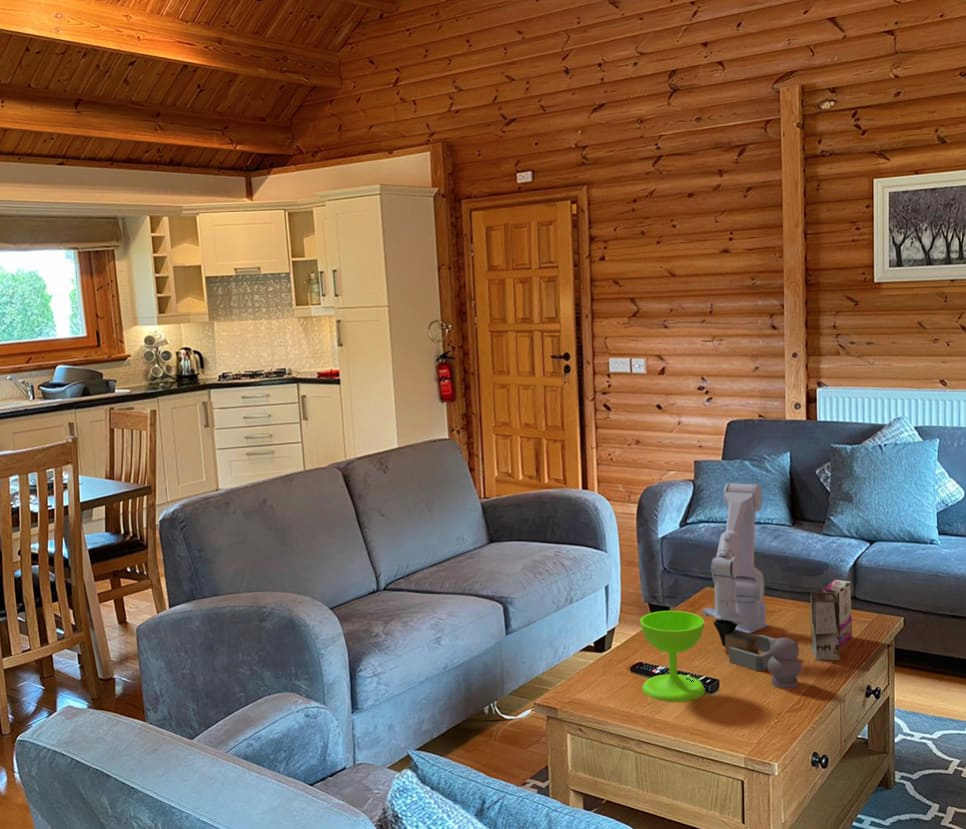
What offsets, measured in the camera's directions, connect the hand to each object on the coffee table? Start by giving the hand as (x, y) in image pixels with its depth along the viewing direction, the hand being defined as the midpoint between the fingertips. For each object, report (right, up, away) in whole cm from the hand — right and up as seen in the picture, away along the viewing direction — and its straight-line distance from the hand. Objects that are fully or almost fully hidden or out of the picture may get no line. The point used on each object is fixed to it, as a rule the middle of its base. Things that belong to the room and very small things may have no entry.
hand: (726, 645), depth 273 cm
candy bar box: (+32, 0, +2) cm, 32 cm away
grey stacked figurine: (+9, -4, -25) cm, 27 cm away
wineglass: (-20, -5, -25) cm, 32 cm away
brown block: (+3, -2, -4) cm, 5 cm away
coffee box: (+26, -1, -7) cm, 26 cm away
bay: (+7, -2, -9) cm, 11 cm away
